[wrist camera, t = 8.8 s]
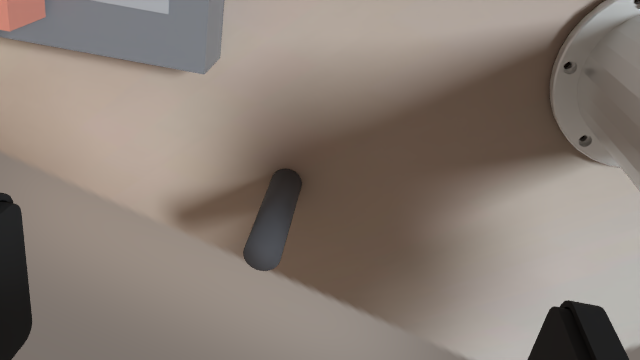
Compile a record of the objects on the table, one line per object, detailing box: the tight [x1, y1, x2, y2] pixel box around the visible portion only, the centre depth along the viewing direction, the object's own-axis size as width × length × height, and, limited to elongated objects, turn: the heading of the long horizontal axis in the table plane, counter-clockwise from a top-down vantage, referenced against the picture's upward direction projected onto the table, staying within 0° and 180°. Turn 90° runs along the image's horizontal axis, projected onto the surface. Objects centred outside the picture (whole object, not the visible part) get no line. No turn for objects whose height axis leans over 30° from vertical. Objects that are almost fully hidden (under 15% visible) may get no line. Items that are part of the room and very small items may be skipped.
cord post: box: [243, 169, 302, 271], centre depth 42 cm, size 2×2×10 cm
